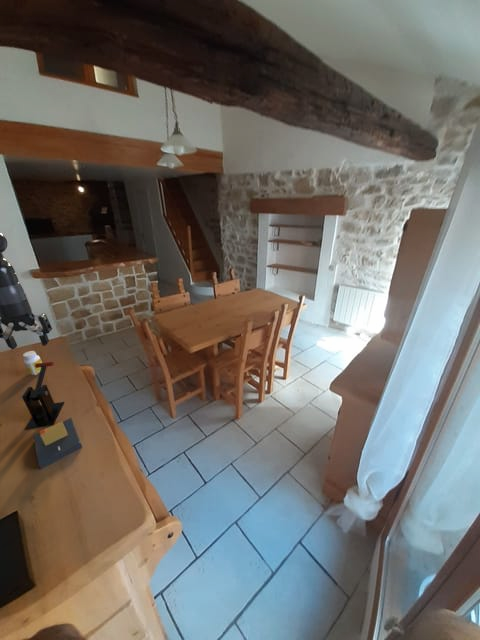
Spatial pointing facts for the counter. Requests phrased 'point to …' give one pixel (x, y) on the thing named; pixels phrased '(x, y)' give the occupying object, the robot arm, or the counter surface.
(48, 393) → the latch bracket
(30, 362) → the supplement bottle
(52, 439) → the yellow flat block
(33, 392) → the latch lever
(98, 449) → the counter surface
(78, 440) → the lock plate
